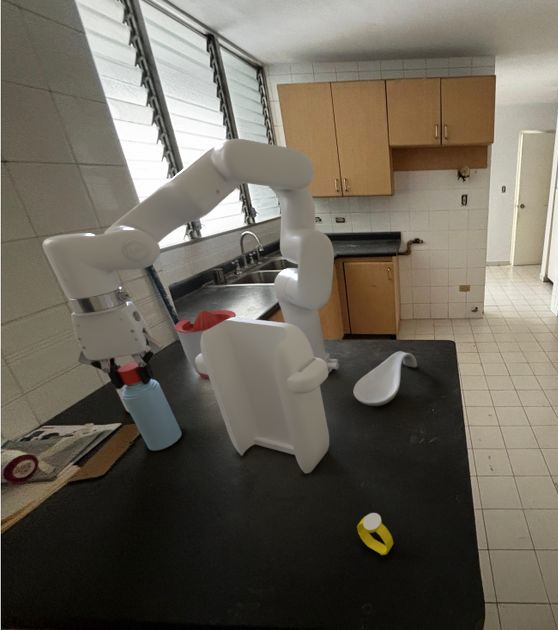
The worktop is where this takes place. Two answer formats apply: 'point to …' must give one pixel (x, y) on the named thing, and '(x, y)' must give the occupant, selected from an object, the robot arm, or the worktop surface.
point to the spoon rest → (383, 380)
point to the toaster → (267, 387)
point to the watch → (375, 525)
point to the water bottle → (152, 414)
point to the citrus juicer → (199, 332)
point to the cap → (129, 373)
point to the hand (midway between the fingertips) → (135, 382)
